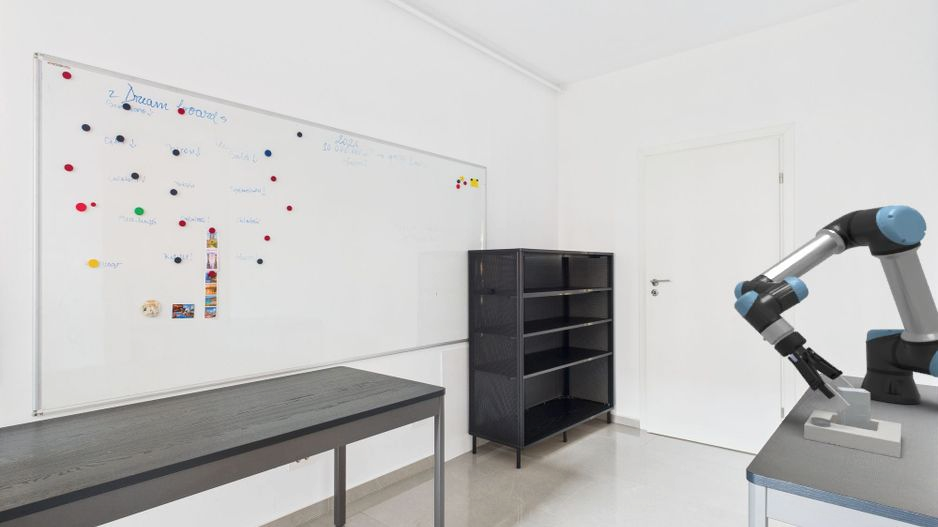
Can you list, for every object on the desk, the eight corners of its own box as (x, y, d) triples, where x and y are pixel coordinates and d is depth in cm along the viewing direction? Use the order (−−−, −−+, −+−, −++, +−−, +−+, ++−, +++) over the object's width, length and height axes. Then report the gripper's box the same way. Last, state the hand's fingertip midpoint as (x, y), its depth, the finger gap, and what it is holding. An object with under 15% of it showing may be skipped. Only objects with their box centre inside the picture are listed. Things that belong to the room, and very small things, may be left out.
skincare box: (864, 434, 123) (864, 388, 123) (871, 440, 119) (871, 392, 119) (836, 431, 126) (836, 386, 126) (842, 437, 122) (841, 390, 122)
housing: (814, 421, 134) (814, 405, 134) (901, 437, 121) (901, 419, 121) (804, 438, 121) (804, 419, 121) (900, 458, 108) (900, 437, 108)
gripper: (787, 342, 144) (850, 402, 133) (757, 351, 128) (825, 421, 117) (808, 326, 140) (874, 387, 129) (780, 334, 124) (853, 404, 113)
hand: (851, 403), depth 123 cm, fingers open, 13 cm apart
